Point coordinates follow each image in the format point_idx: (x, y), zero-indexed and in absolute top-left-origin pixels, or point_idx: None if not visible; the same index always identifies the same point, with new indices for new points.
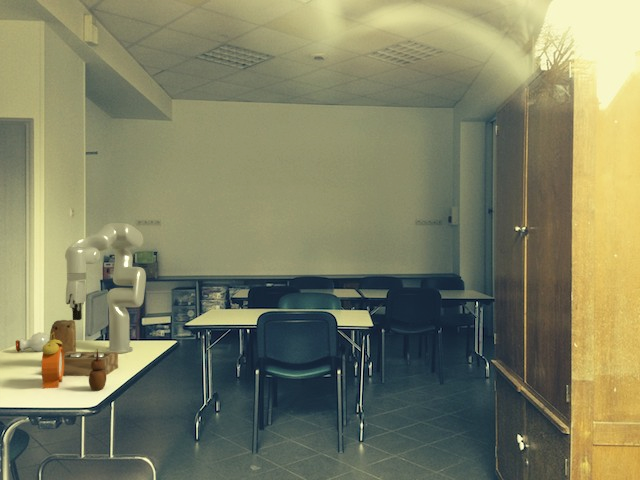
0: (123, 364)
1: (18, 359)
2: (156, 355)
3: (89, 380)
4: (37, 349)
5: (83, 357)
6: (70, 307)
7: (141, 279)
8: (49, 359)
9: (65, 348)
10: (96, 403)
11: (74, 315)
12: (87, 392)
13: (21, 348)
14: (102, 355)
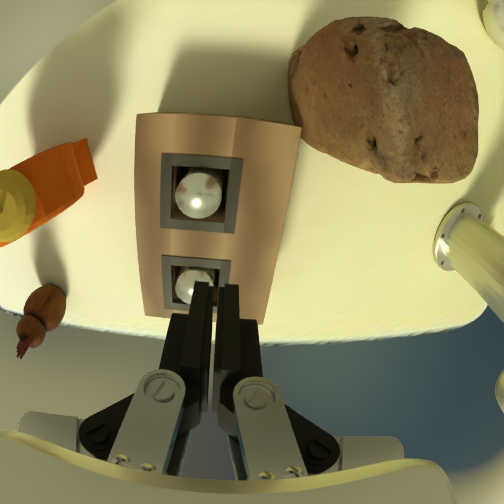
0: (297, 292)
1: None
2: (377, 332)
3: (29, 296)
4: (483, 19)
5: (162, 240)
6: (33, 414)
7: None
8: None
9: (309, 114)
10: (6, 307)
11: (169, 338)
12: (35, 280)
13: None
14: (187, 300)
